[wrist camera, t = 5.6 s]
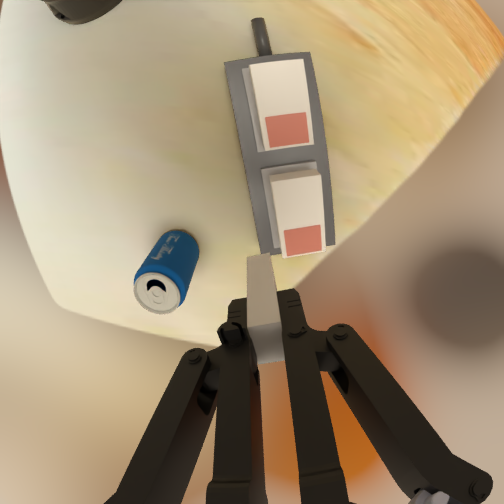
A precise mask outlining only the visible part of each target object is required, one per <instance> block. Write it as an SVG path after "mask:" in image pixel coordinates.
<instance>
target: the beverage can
mask: <svg viewBox="0 0 504 504" xmlns="http://www.w3.org/2000/svg"><path fill="white" fill-rule="evenodd" d="M198 258H199V248H198V245H197V243H196V241H195V240H194V239H193V238H192V237H191V236H190V235H189V234H187V233H185V232H182V231H170V232H167V233H165V234H164V235H162V236H161V238H160V239H159V240H158V242H157V243H156V245H155V246H154V248H153V249H152V250H151V252H150V253H149V255H148V256H147V258H146V259H145V261H144V262H143V264H142V265H141V267H140V268H139V270H138V271H137V273H136V275H135V278H134V295H135V297H136V299H137V301H138V302H139V304H140V305H141V306H142V307H143V308H145V309H146V310H148V311H150V312H152V313H155V314H168V313H171V312H173V311H174V310H175V309H176V308H177V307H179V306H180V305H181V304H182V303H183V301H184V300H185V297H186V294H187V291H188V288H189V285H190V281H191V278H192V275H193V272H194V269H195V266H196V263H197V261H198Z"/></svg>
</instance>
